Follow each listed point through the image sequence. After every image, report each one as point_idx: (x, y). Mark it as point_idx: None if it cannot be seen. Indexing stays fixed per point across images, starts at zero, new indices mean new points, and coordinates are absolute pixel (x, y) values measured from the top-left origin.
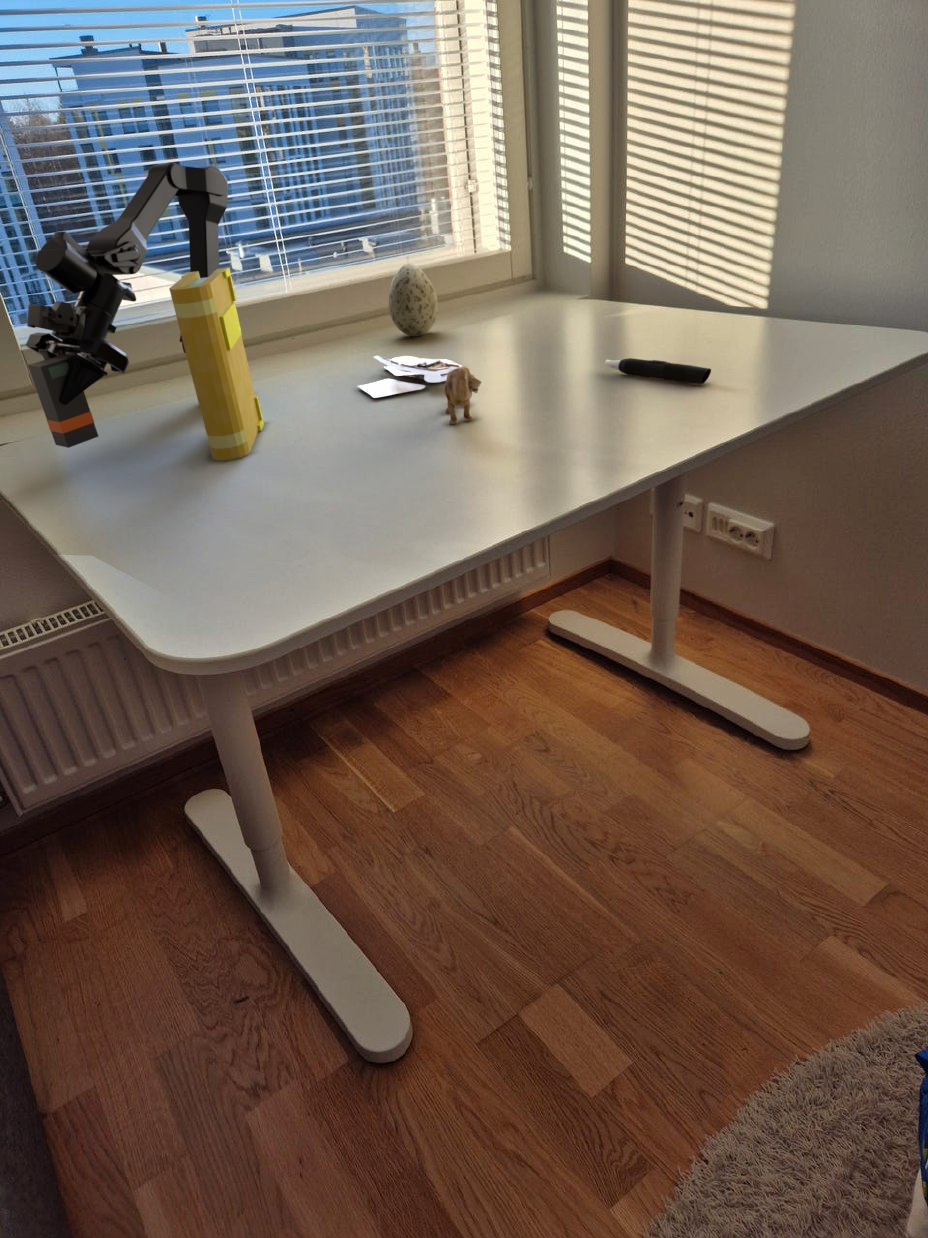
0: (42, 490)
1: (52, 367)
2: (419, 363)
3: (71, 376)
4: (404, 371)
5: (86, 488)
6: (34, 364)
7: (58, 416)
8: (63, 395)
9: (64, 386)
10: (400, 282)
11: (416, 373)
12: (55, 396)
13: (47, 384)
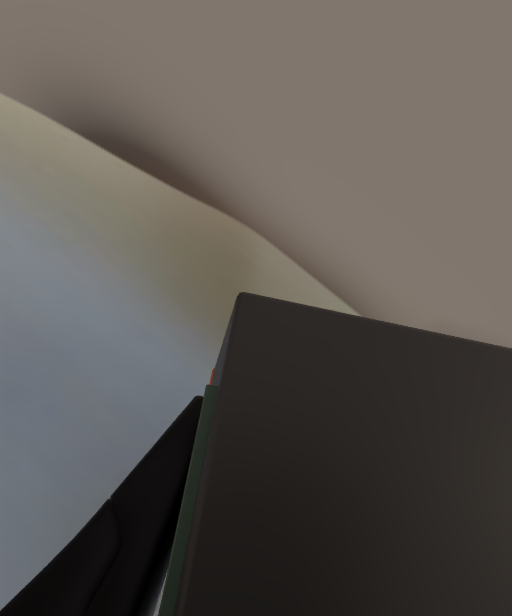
0: (193, 259)
1: (193, 446)
2: None
3: (68, 544)
4: None
5: (76, 287)
6: (455, 380)
7: (214, 369)
8: (177, 417)
9: (173, 461)
10: None
11: None
12: (213, 381)
13: (222, 343)
